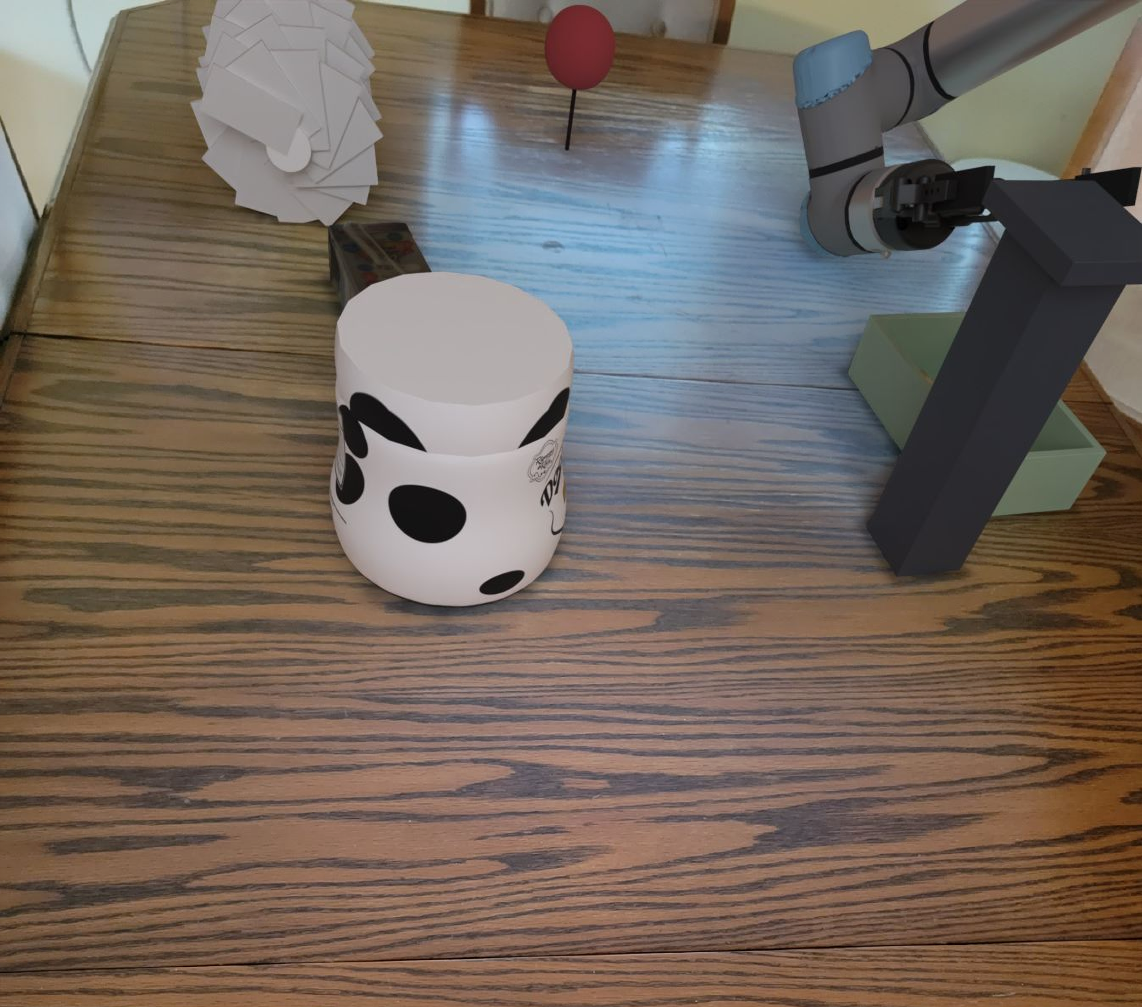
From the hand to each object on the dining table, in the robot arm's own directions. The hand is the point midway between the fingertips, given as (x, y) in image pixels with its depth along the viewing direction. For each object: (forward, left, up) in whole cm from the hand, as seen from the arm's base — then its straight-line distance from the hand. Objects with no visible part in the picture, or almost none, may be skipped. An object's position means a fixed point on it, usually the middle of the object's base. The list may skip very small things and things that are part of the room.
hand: (1063, 186), depth 80 cm
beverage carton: (+52, +9, -23) cm, 57 cm away
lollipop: (+47, -36, -23) cm, 64 cm away
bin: (-1, +2, -23) cm, 23 cm away
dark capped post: (+2, +19, -23) cm, 30 cm away
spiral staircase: (+71, -13, -23) cm, 76 cm away
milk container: (+38, +34, -23) cm, 56 cm away
